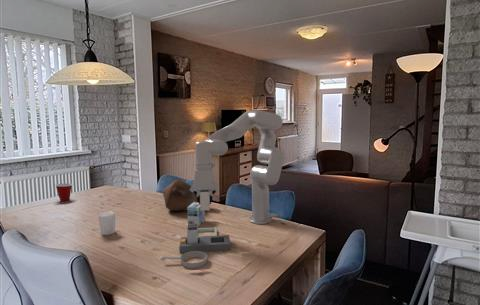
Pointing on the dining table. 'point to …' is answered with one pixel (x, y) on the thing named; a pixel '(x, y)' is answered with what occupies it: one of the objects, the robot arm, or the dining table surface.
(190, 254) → the saucepan
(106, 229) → the white cup
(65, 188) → the plastic cup
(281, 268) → the dining table surface
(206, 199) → the plug
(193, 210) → the light bulb box
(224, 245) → the strip
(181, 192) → the jug
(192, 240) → the light grey peg
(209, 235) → the tray
